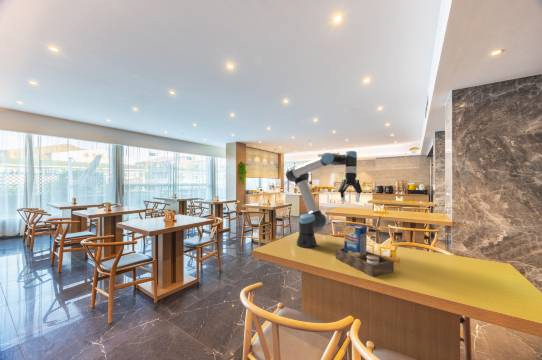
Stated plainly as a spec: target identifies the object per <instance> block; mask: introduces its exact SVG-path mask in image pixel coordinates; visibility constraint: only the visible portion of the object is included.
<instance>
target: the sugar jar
mask: <svg viewBox="0 0 542 360" xmlns="http://www.w3.org/2000/svg"><path fill="white" fill-rule="evenodd" d="M366 258H367V262H368V263H371V264H377V263H379V257H377V256H374V255H367V256H366Z"/></svg>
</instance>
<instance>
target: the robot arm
mask: <svg viewBox="0 0 542 360" xmlns="http://www.w3.org/2000/svg"><path fill="white" fill-rule="evenodd" d="M357 153H358V152H357V151H355V150H348V151H345V154H336V153H330V152H324V153H323V154H322V155H321V156H319V157H318V158H315V159H313V160H310V161H308V162H305V163H303V164H300V165H298V166H292V167H290V168H288V169H287V170H286V172H285V177H286V179H287V180H288V181H289V182H293V183H294V184H295V186H296V187H298V190H299V192H300V195H301V198H302V200H303V202H304V205H305V207H306V211H307V213H303V214H300V216H299V219H298V225H299V227H298V236H297V240H296V245H297V246H298V247H300V248H305V249H307V248H309V249H310V248H311V249H312V248H315V247H317V246H318V245H317V244H318V243H317V240H316V236H315V230H320V229H323V228H324V227H326V225H327V223H328V222H327V221H328V219H327V217H326V215H325V214H323V213H322V211H321V209H319V208H318V206H317V204H316V201H315V199H314V195H313V193H312V191H311V188H310V186H309V181H310V180H309V177H310V172H312V171H313V172H314V171H315V170H318V169H321V168H323V167H326V166H329V165H331V166H342V165H343V166H344V165H345V176H344V177H345V178H343V179H342V180H341V183H340V186H339V187H338V188H339V189H338V190H337V191H338V192H339V193H340V199H341V201H340V202H341V203H346V193H345V192H346V190H347V189H348V188H349V186H350V187H351V186H352V187H353V189H354V191H355V202H356V203H360V195H361V193H363V189H362V186H361V184H360V180H359V179H357V160H358V154H357Z"/></svg>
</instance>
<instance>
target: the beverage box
mask: <svg viewBox="0 0 542 360" xmlns="http://www.w3.org/2000/svg"><path fill="white" fill-rule="evenodd" d="M367 230H368V227H367V226H364V225H363V226H362V225H358V224H353V223H349V224H345V225H344V240H343V241H344V243H343V246H344V247H343V248H344V252H345V253H347V254H350V255H352V256H354V257H355V256H361V255H366V251H367V237H368V236H367V233H368V232H367Z"/></svg>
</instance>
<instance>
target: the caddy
mask: <svg viewBox="0 0 542 360" xmlns="http://www.w3.org/2000/svg"><path fill="white" fill-rule="evenodd" d="M367 255H374V256H377V257H379V263H377V264H371V263H368V262H367V258H366V256H367ZM335 259H336V260H338V261H340V262H341V263H344V264H346V265H347V266H350V267H352V268H354V269H356V270H358V271H360V272H361V273H364V274H366V275H368V276H370V277H372V278H373V277H378V276H383V275H386V274H392V273H394V267H395V265H394V263H395V261H394V260H392V259H388V258H387V257H383V256H381V255H378V254H376V253H373V252H370V251H367V250H366V255H361V256H355V257H354V256H352V255H350V254H347V253H345V252H344V247H343V248H337V249H335Z"/></svg>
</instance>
